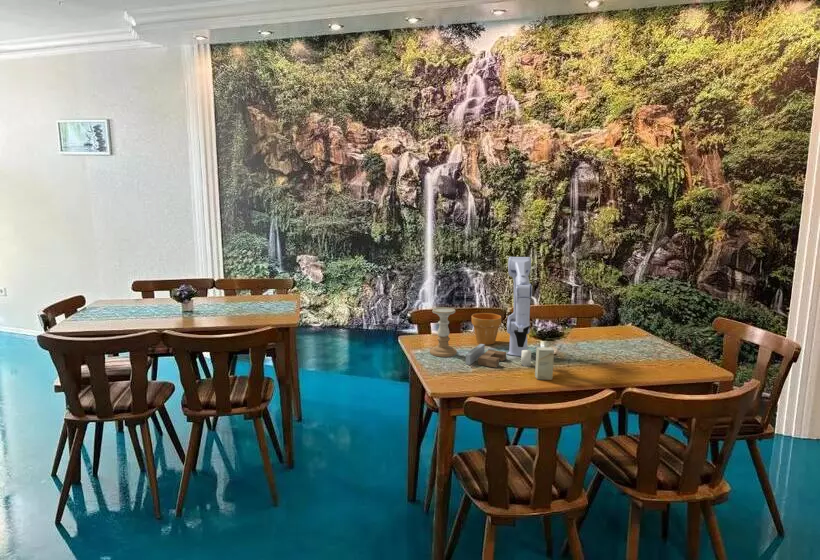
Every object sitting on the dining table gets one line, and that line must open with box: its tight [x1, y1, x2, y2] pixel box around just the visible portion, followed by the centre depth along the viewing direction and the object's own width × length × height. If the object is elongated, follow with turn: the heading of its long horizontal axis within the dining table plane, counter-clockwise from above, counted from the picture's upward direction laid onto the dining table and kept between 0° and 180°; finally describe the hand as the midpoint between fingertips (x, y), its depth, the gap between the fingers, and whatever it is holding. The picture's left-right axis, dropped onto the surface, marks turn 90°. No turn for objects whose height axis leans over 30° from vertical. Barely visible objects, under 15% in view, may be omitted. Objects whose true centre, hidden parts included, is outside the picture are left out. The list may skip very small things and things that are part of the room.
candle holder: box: [429, 306, 458, 358], centre depth 267 cm, size 12×12×20 cm
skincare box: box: [534, 346, 555, 381], centre depth 235 cm, size 6×4×12 cm
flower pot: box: [471, 312, 502, 346], centre depth 285 cm, size 14×14×13 cm
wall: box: [465, 343, 486, 366], centre depth 260 cm, size 18×2×4 cm, turn 153°
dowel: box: [520, 349, 532, 367], centre depth 252 cm, size 4×4×6 cm
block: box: [477, 349, 507, 368], centre depth 256 cm, size 14×8×3 cm, turn 153°
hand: (521, 344), depth 249 cm, fingers open, 7 cm apart
